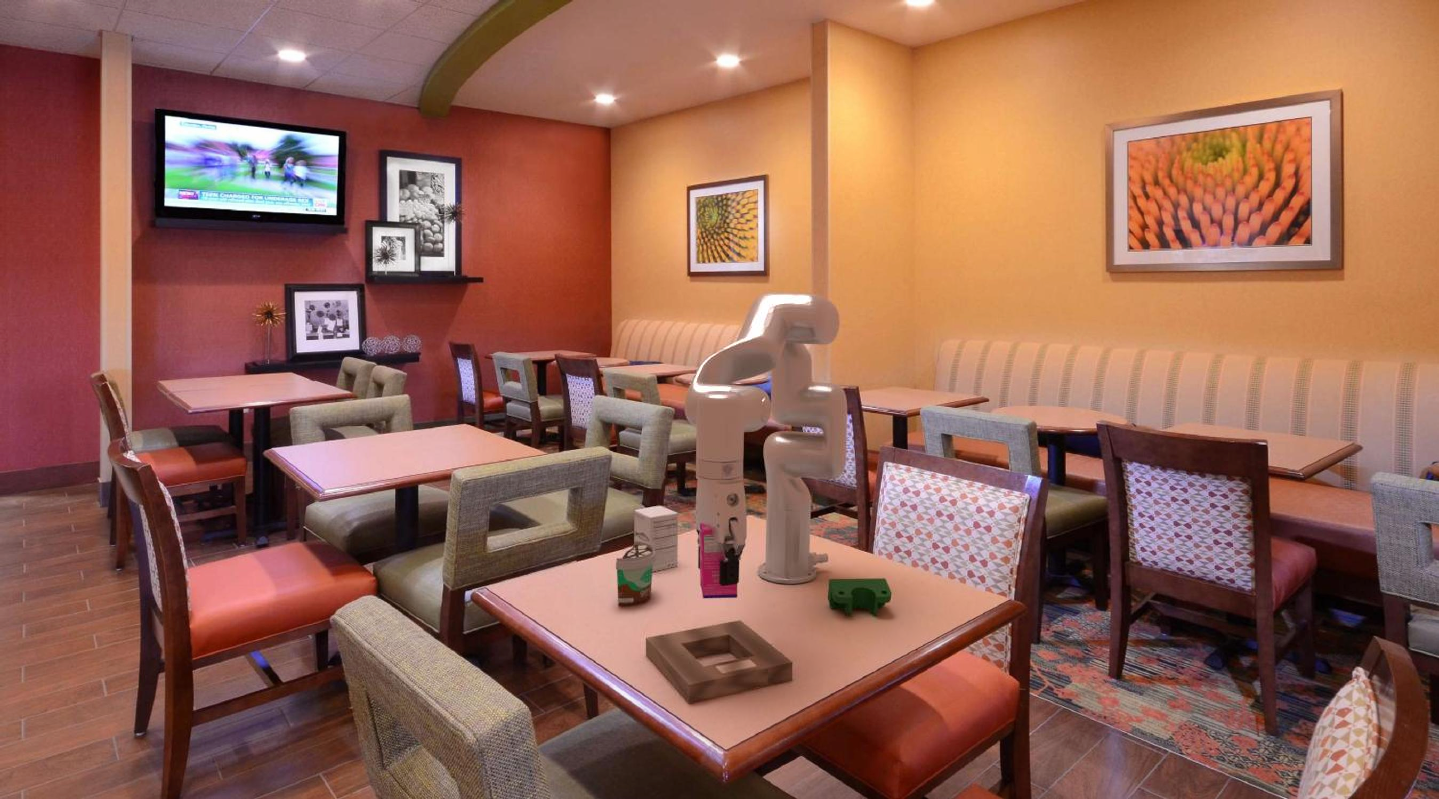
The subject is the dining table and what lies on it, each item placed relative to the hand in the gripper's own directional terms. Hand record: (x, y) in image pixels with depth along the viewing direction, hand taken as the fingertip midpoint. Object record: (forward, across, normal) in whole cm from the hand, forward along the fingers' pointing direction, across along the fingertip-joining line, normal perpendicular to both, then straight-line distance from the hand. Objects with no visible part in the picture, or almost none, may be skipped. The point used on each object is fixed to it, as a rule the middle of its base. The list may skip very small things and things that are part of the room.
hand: (718, 575), depth 131 cm
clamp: (+16, +10, -35) cm, 40 cm away
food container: (+16, +33, +1) cm, 37 cm away
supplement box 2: (+3, 0, 0) cm, 3 cm away
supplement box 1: (+16, +50, -9) cm, 53 cm away
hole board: (+16, 0, 0) cm, 16 cm away
